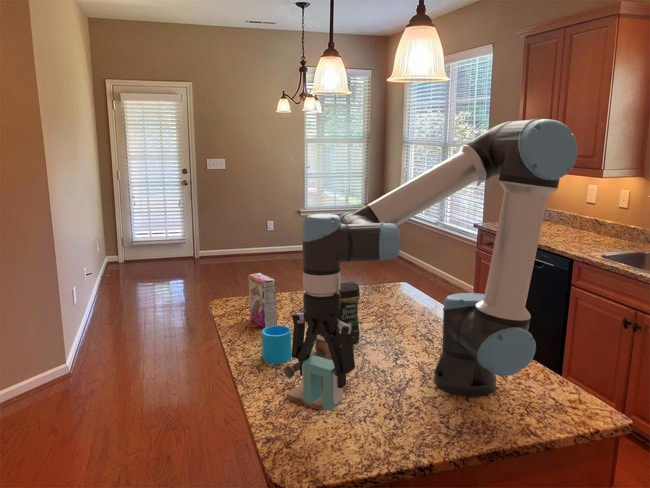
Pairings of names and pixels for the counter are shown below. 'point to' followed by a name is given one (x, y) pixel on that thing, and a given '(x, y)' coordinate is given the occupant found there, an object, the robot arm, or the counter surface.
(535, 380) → the counter surface
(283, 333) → the mug
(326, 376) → the c link
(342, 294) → the coffee jar
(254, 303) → the candy bar box
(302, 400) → the stand
